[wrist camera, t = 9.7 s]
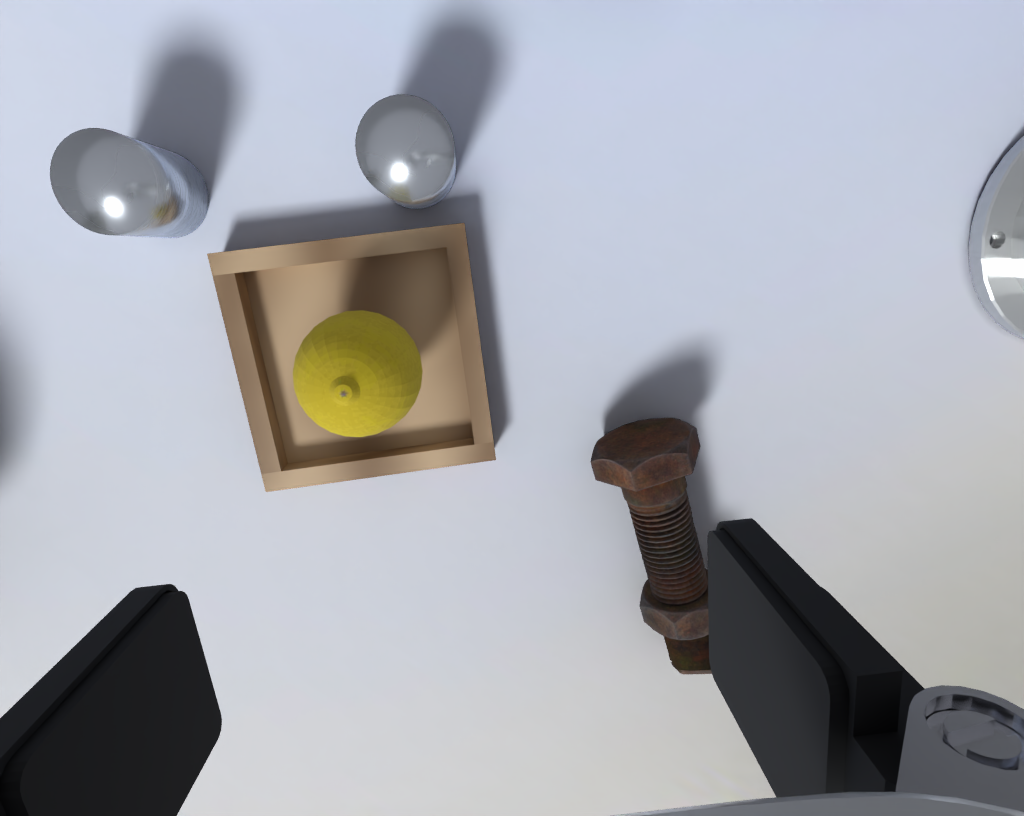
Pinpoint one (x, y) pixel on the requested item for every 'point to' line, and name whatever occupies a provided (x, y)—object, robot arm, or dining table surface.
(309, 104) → the dining table surface
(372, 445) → the tray
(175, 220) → the cylinder
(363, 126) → the cylinder
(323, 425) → the lemon
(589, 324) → the dining table surface
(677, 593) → the bolt
